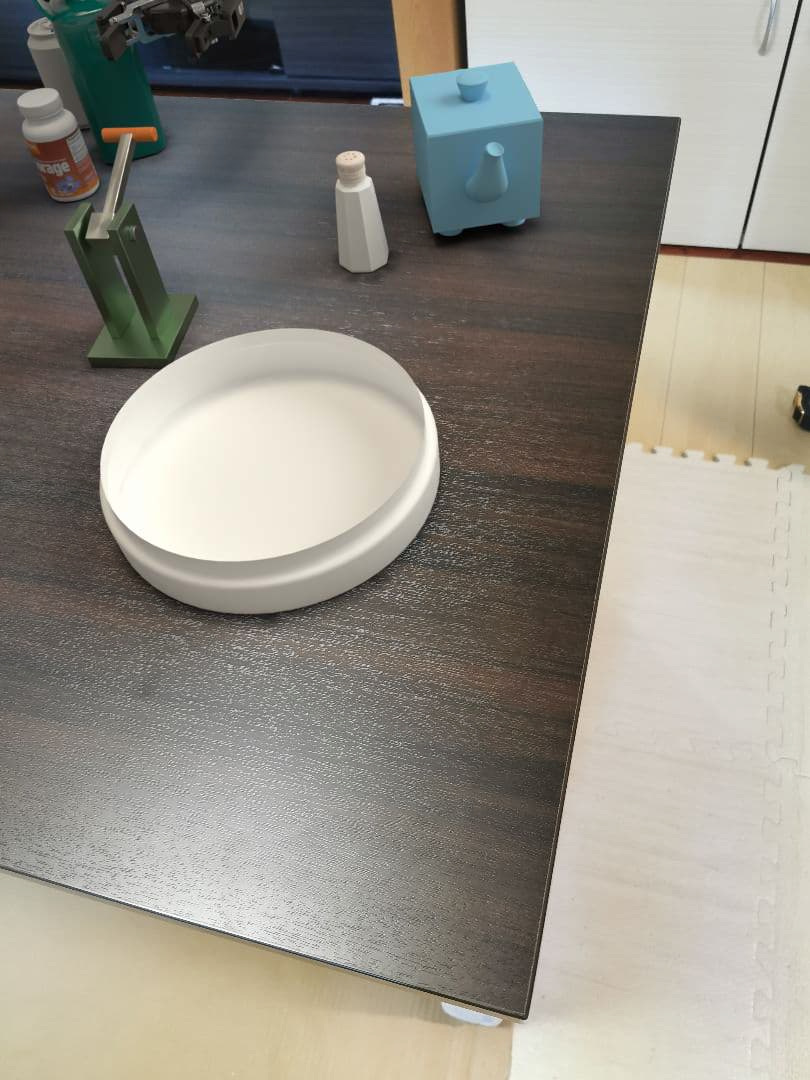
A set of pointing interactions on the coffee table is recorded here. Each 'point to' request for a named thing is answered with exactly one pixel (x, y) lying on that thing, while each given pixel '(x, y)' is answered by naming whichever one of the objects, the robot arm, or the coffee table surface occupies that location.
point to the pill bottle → (57, 146)
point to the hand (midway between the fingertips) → (149, 49)
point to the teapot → (477, 147)
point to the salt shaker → (358, 217)
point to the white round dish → (270, 470)
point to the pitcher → (104, 76)
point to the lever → (116, 184)
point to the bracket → (130, 319)
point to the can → (54, 67)
